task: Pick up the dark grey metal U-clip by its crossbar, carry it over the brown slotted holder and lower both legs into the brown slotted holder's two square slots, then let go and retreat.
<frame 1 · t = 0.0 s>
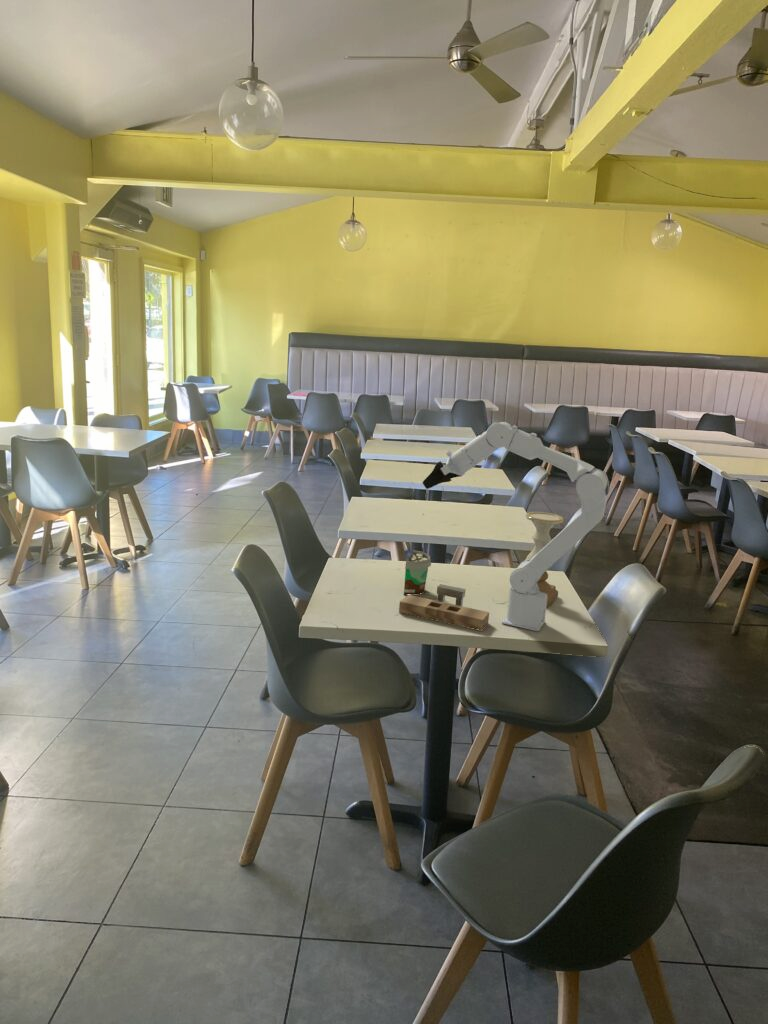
hand: (430, 483, 189), 32 cm above the table, tool tilted 50°, fingers open, 7 cm apart
food container: (417, 591, 204), on the table
clip: (449, 607, 192), on the table
brown slotted holder: (443, 617, 185), on the table
candle holder: (534, 598, 205), on the table
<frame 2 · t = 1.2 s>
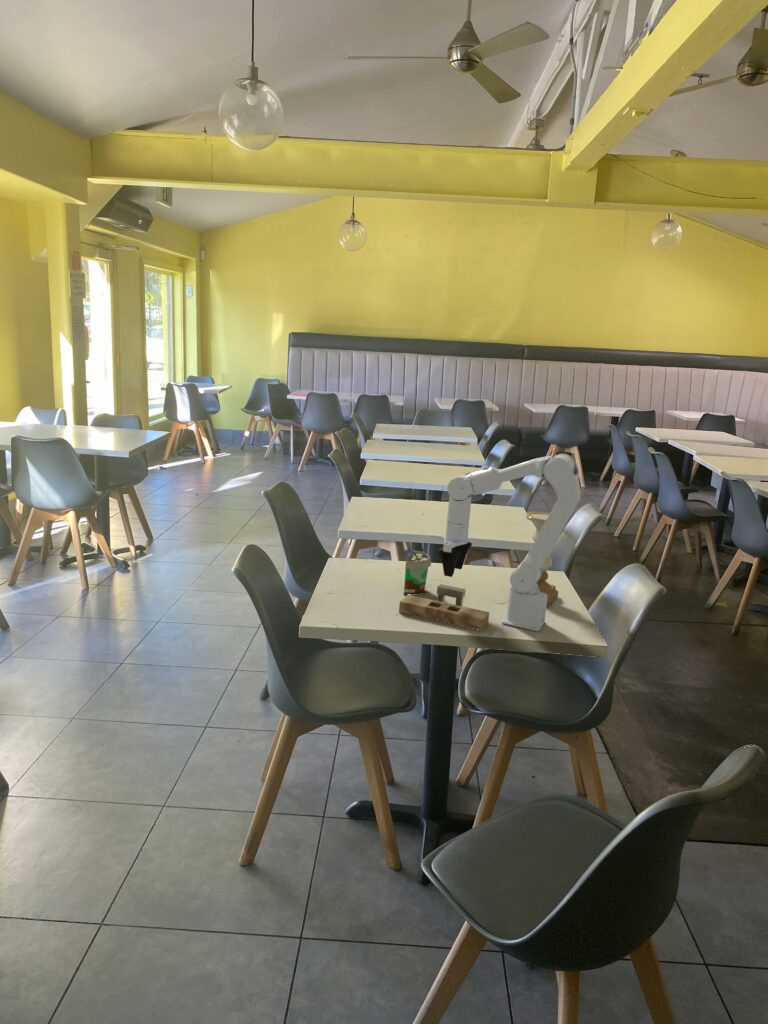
hand: (452, 572, 190), 10 cm above the table, tool pointing down, fingers open, 7 cm apart
nothing on the table moved.
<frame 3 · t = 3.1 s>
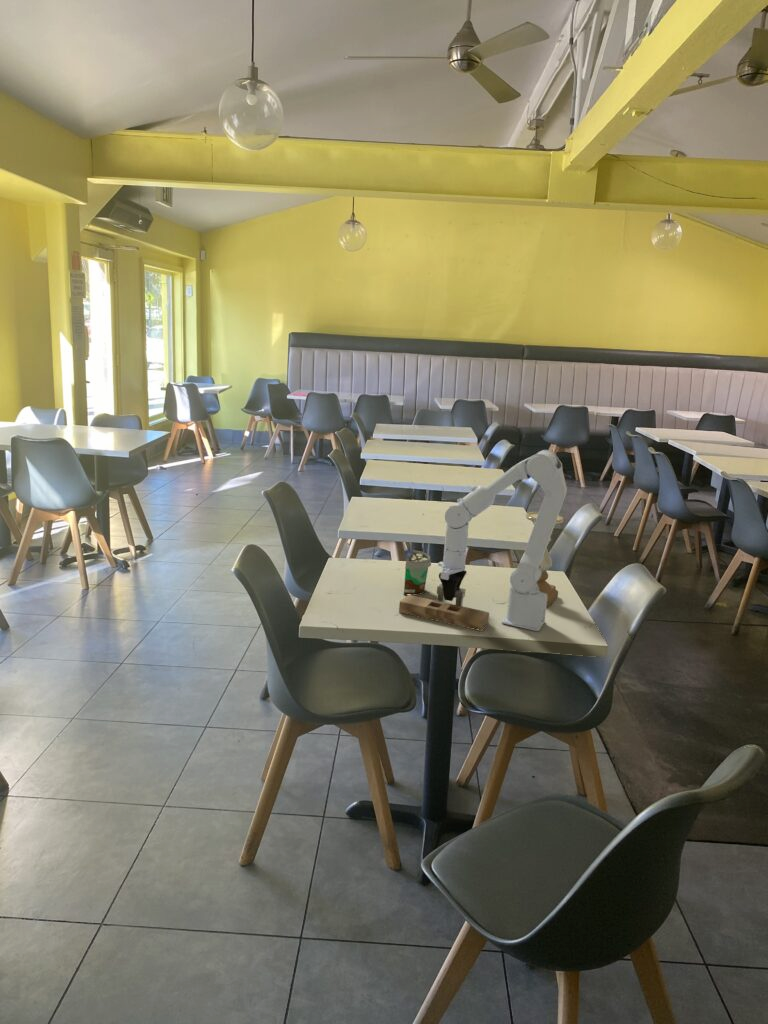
hand: (450, 598, 192), 3 cm above the table, tool pointing down, fingers closed on clip, 2 cm apart
clip: (449, 607, 192), on the table, touching gripper
everything else where it was.
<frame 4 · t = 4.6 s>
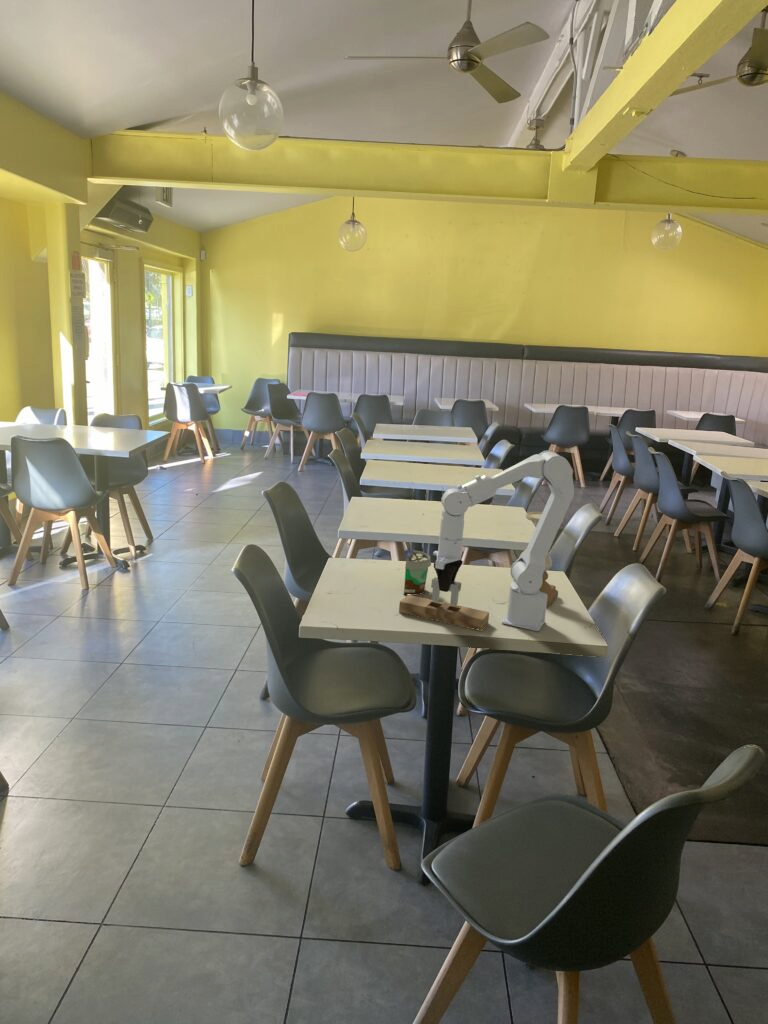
hand: (445, 589, 183), 8 cm above the table, tool pointing down, fingers closed on clip, 2 cm apart
clip: (444, 601, 184), point 4 cm above the table, touching gripper
everything else where it was.
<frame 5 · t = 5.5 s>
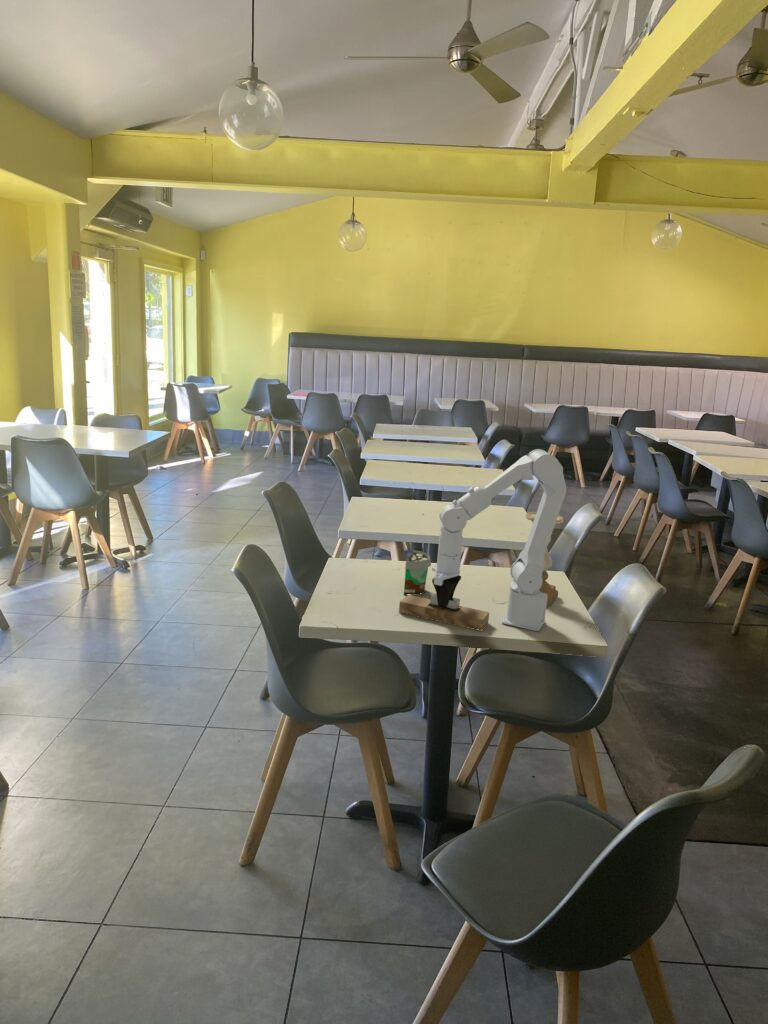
hand: (444, 604, 184), 4 cm above the table, tool pointing down, fingers closed on clip, 2 cm apart
clip: (443, 618, 185), resting in brown slotted holder, touching gripper
everything else where it was.
when the fingers open (4 cm above the table, at t = 6.0 s): clip stays where it is, resting in brown slotted holder.
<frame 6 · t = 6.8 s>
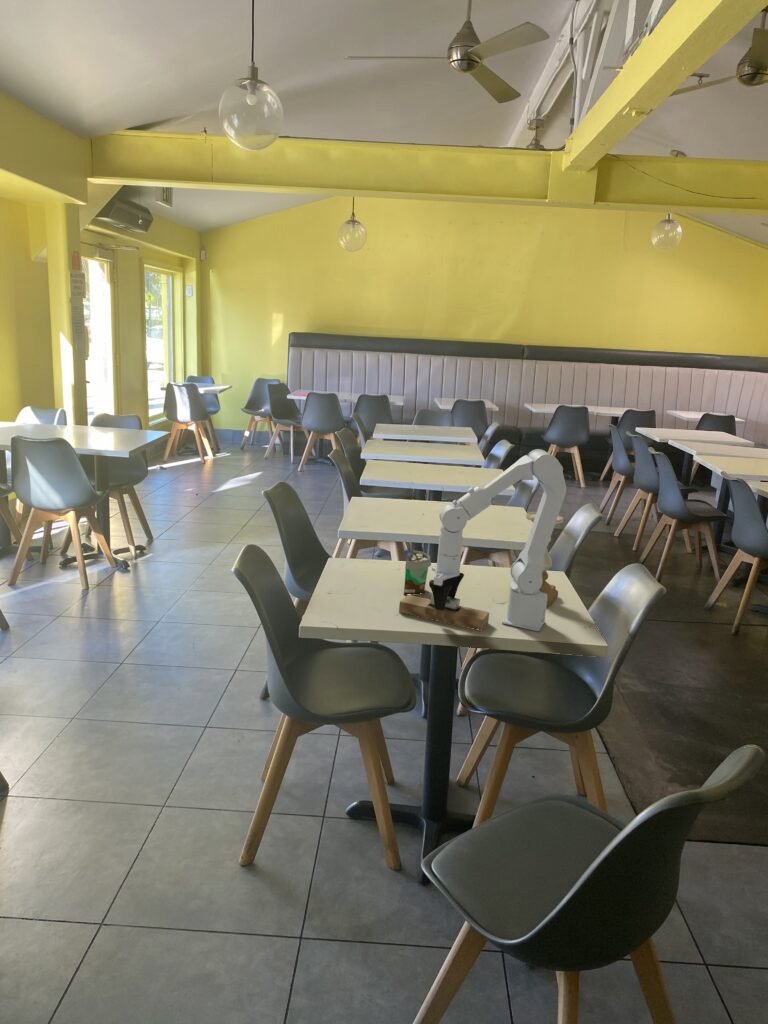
hand: (444, 604, 184), 4 cm above the table, tool pointing down, fingers open, 7 cm apart
clip: (443, 617, 185), resting in brown slotted holder
everything else where it was.
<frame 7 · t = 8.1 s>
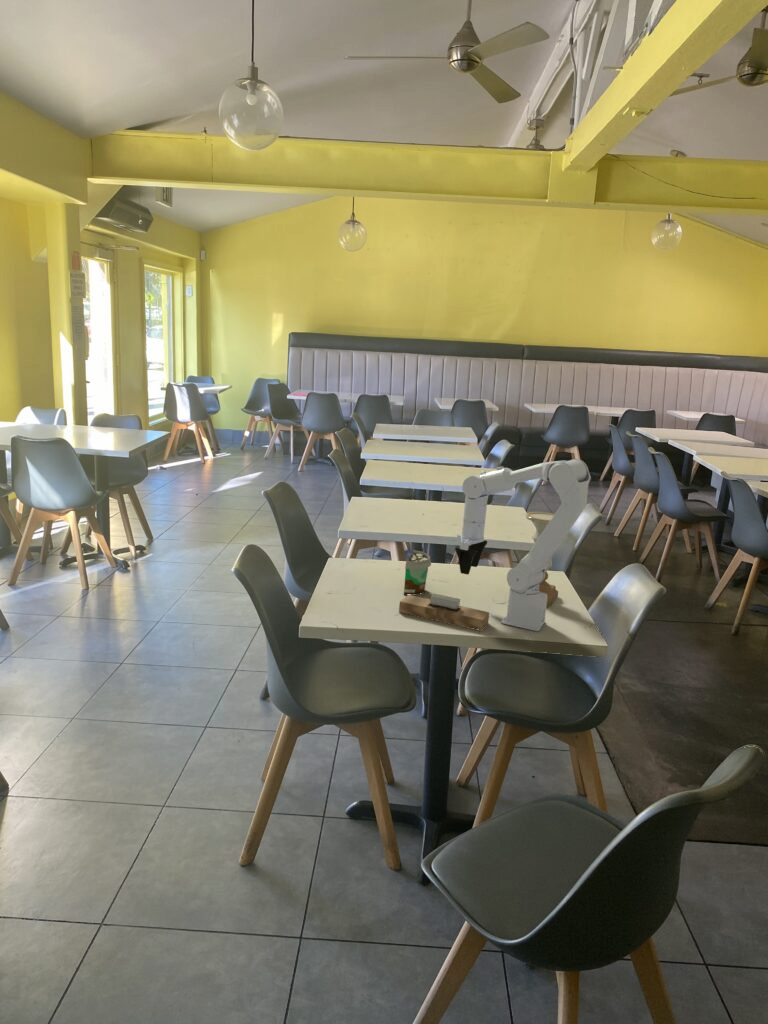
hand: (469, 569, 193), 10 cm above the table, tool pointing down, fingers open, 7 cm apart
nothing on the table moved.
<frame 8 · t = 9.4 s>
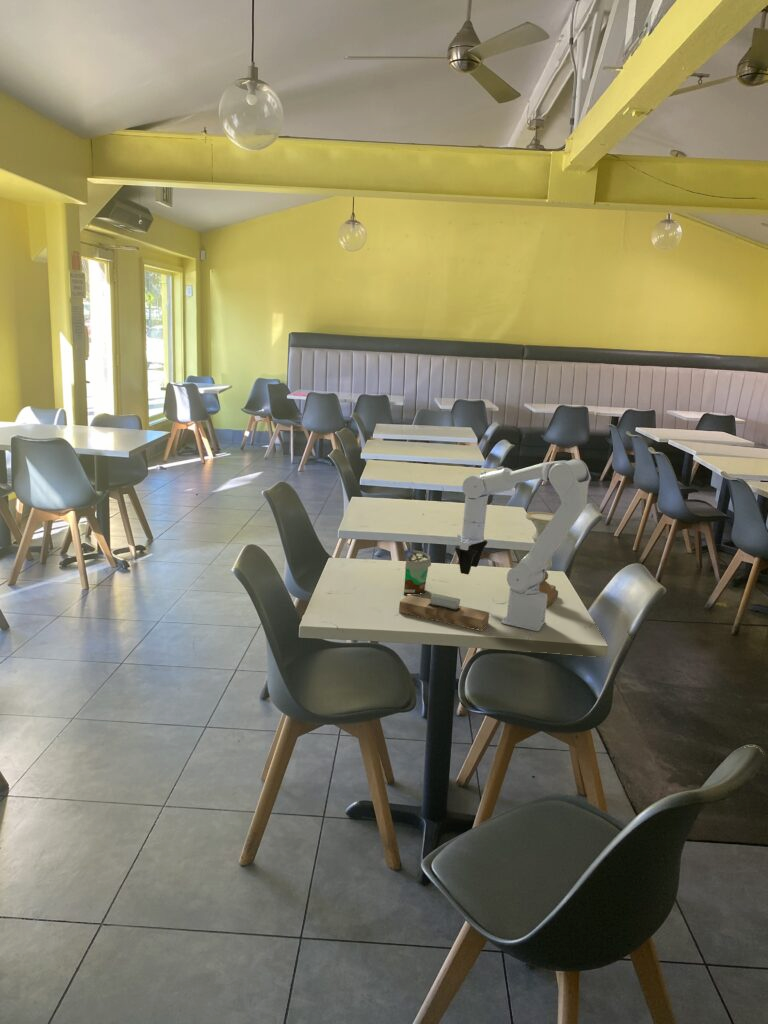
hand: (469, 569, 193), 10 cm above the table, tool pointing down, fingers open, 7 cm apart
nothing on the table moved.
at the end: clip 0.1 cm off-centre on the brown slotted holder, point 0.0 cm above the brown slotted holder's base; clip tilted 0°; the gripper is holding nothing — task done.
